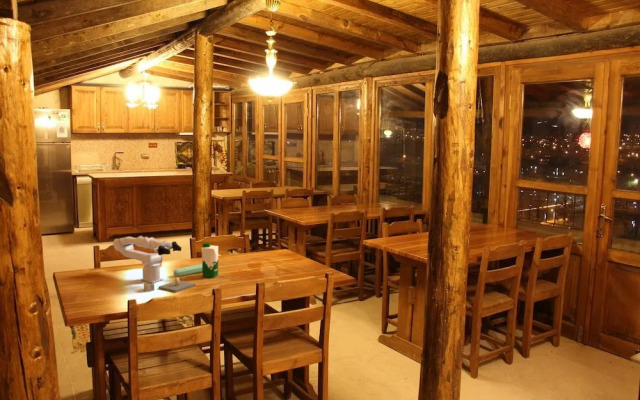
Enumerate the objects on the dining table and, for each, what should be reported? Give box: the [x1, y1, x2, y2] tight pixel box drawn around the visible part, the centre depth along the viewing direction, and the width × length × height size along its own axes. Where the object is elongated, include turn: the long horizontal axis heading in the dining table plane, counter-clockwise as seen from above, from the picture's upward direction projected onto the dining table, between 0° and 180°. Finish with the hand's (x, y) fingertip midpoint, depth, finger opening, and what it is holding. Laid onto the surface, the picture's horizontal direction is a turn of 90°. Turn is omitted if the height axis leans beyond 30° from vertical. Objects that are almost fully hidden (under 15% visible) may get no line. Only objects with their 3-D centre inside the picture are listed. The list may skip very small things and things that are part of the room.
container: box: [173, 263, 202, 278], centre depth 338 cm, size 6×6×25 cm
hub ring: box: [143, 281, 155, 292], centre depth 304 cm, size 5×5×4 cm
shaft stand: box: [158, 277, 196, 293], centre depth 309 cm, size 13×15×5 cm
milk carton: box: [200, 242, 219, 279], centre depth 331 cm, size 9×9×20 cm
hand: (175, 250), depth 308 cm, fingers open, 7 cm apart
